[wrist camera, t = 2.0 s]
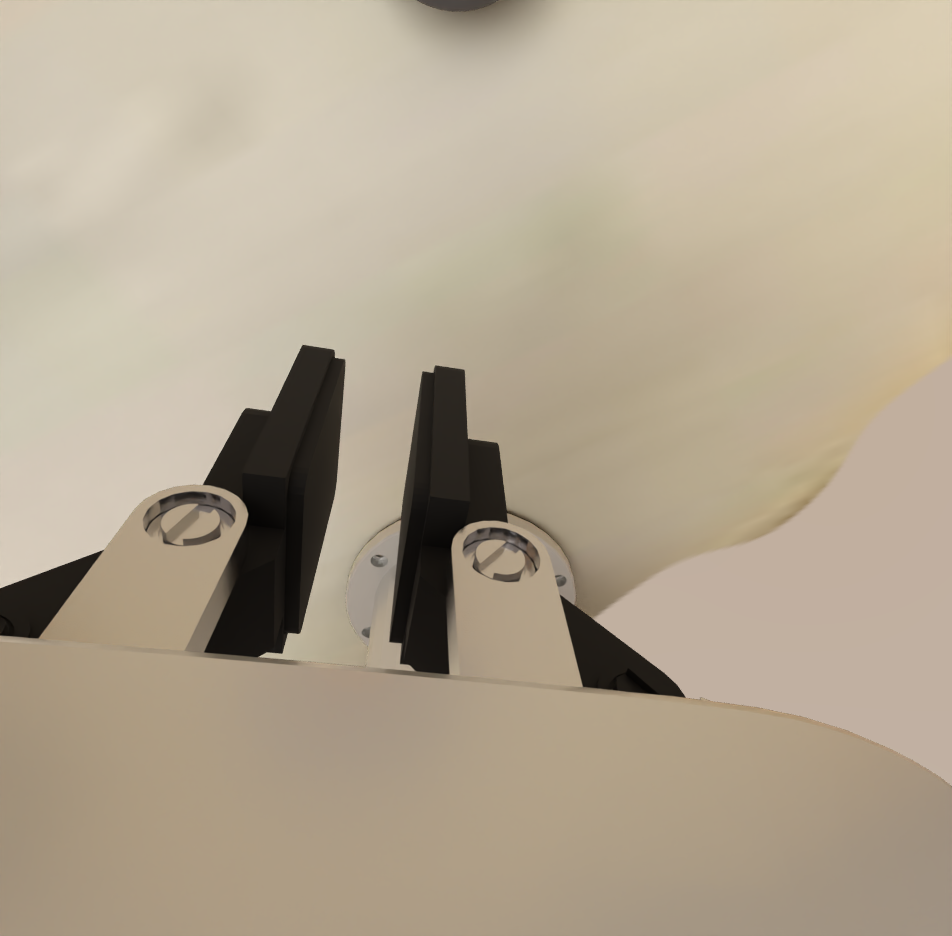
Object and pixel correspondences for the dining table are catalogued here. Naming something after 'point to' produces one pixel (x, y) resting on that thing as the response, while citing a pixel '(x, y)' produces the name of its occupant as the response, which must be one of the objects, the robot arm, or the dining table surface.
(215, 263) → the dining table surface
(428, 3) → the dark grey ball
